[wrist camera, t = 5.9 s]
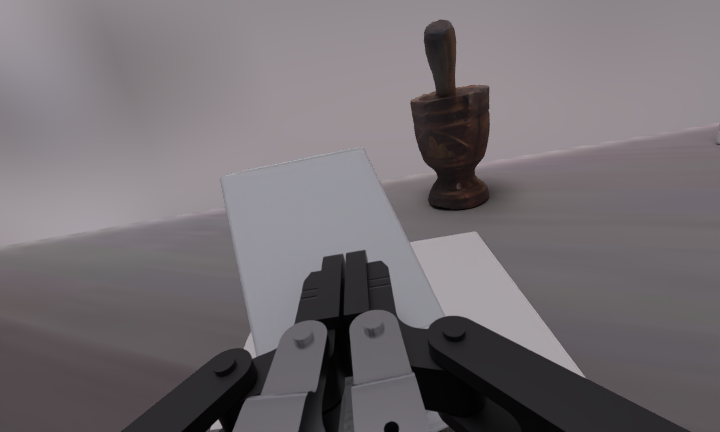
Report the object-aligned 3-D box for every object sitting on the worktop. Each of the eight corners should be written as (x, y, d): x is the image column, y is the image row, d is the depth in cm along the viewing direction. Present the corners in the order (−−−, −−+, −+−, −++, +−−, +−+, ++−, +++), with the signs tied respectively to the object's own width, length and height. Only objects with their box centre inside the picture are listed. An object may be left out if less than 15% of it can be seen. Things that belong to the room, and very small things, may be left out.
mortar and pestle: (518, 214, 38) (516, 2, 30) (439, 229, 38) (417, 22, 30) (478, 184, 48) (468, 22, 41) (416, 196, 48) (396, 36, 41)
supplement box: (497, 407, 12) (365, 139, 18) (280, 509, 10) (212, 172, 16) (436, 414, 18) (354, 215, 24) (296, 477, 16) (243, 245, 22)
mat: (213, 437, 19) (209, 429, 19) (280, 269, 36) (278, 263, 36) (585, 387, 18) (586, 378, 18) (476, 236, 35) (475, 231, 35)
